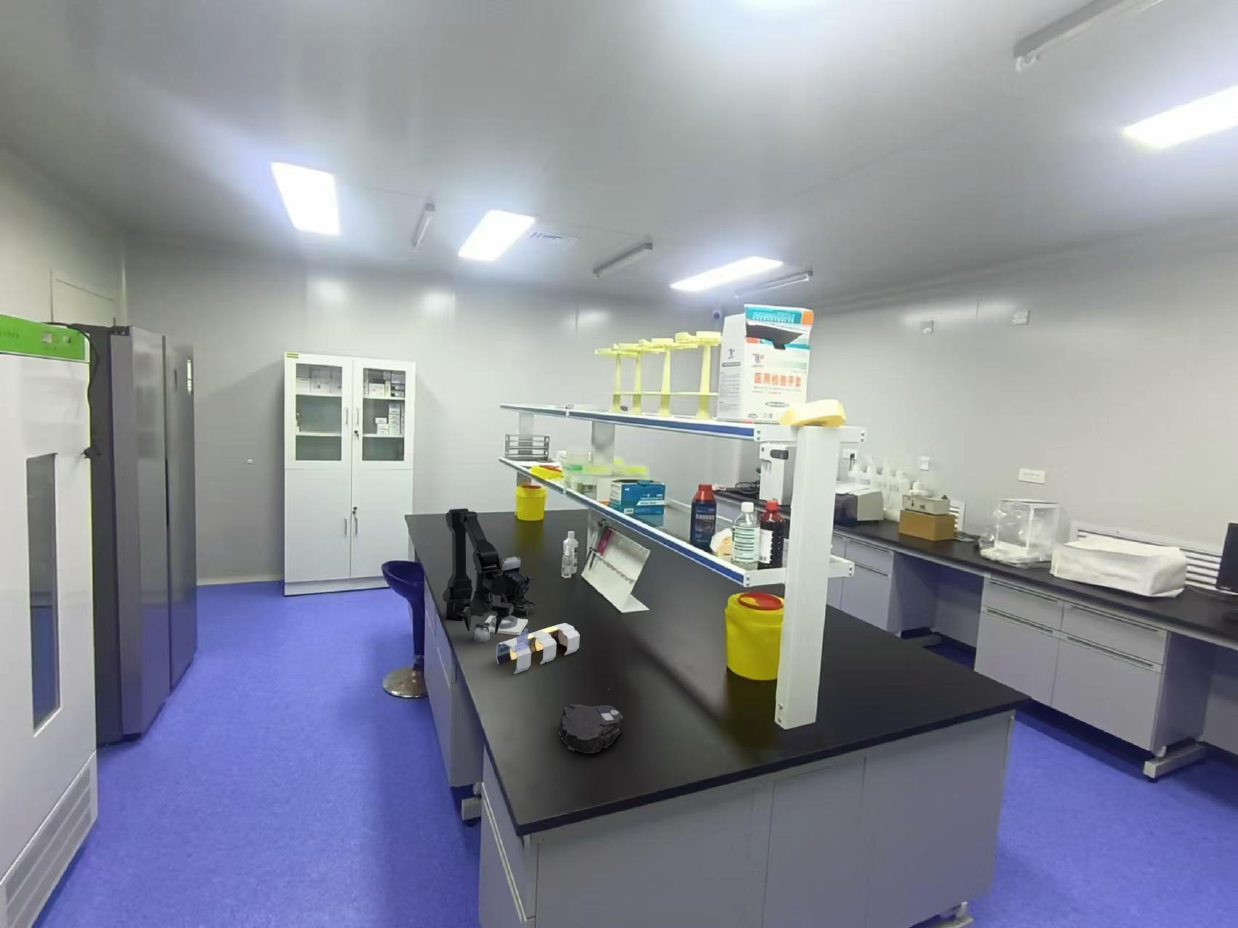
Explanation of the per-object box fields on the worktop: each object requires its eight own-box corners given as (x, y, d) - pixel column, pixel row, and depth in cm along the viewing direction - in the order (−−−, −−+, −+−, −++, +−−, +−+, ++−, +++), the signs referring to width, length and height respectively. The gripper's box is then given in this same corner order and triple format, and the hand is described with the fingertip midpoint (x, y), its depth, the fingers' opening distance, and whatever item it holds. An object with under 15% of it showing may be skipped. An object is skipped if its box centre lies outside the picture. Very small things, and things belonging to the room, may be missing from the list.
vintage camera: (519, 620, 204) (524, 568, 202) (491, 608, 213) (496, 557, 211) (538, 614, 212) (543, 564, 210) (511, 602, 221) (515, 554, 219)
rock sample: (602, 764, 124) (604, 744, 124) (542, 744, 130) (543, 724, 130) (631, 726, 141) (632, 707, 140) (576, 709, 146) (577, 691, 146)
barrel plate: (479, 631, 191) (479, 624, 191) (489, 618, 203) (490, 611, 203) (519, 635, 190) (519, 628, 190) (527, 622, 202) (528, 615, 202)
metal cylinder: (472, 641, 183) (472, 626, 182) (477, 635, 188) (477, 621, 187) (487, 642, 182) (487, 628, 182) (491, 636, 187) (492, 622, 187)
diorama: (516, 676, 162) (518, 633, 161) (495, 663, 169) (497, 622, 168) (578, 653, 181) (581, 614, 179) (557, 642, 187) (559, 604, 186)
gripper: (447, 591, 176) (445, 639, 178) (505, 597, 175) (503, 645, 176) (460, 581, 187) (458, 626, 189) (514, 586, 186) (512, 631, 187)
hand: (482, 632), depth 185 cm, fingers open, 9 cm apart
